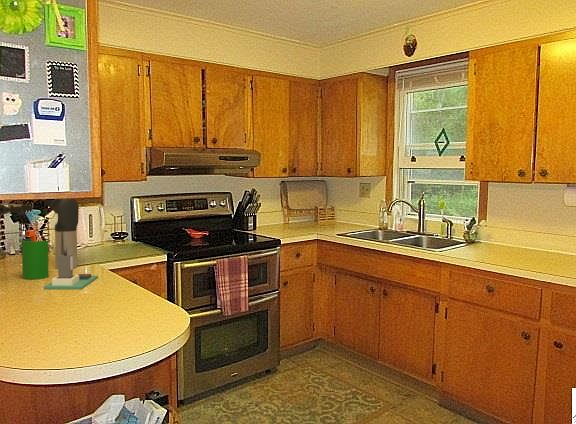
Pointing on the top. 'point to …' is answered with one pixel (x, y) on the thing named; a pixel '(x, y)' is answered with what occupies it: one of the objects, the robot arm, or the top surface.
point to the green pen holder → (34, 257)
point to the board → (71, 282)
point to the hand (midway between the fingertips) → (26, 209)
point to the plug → (65, 266)
